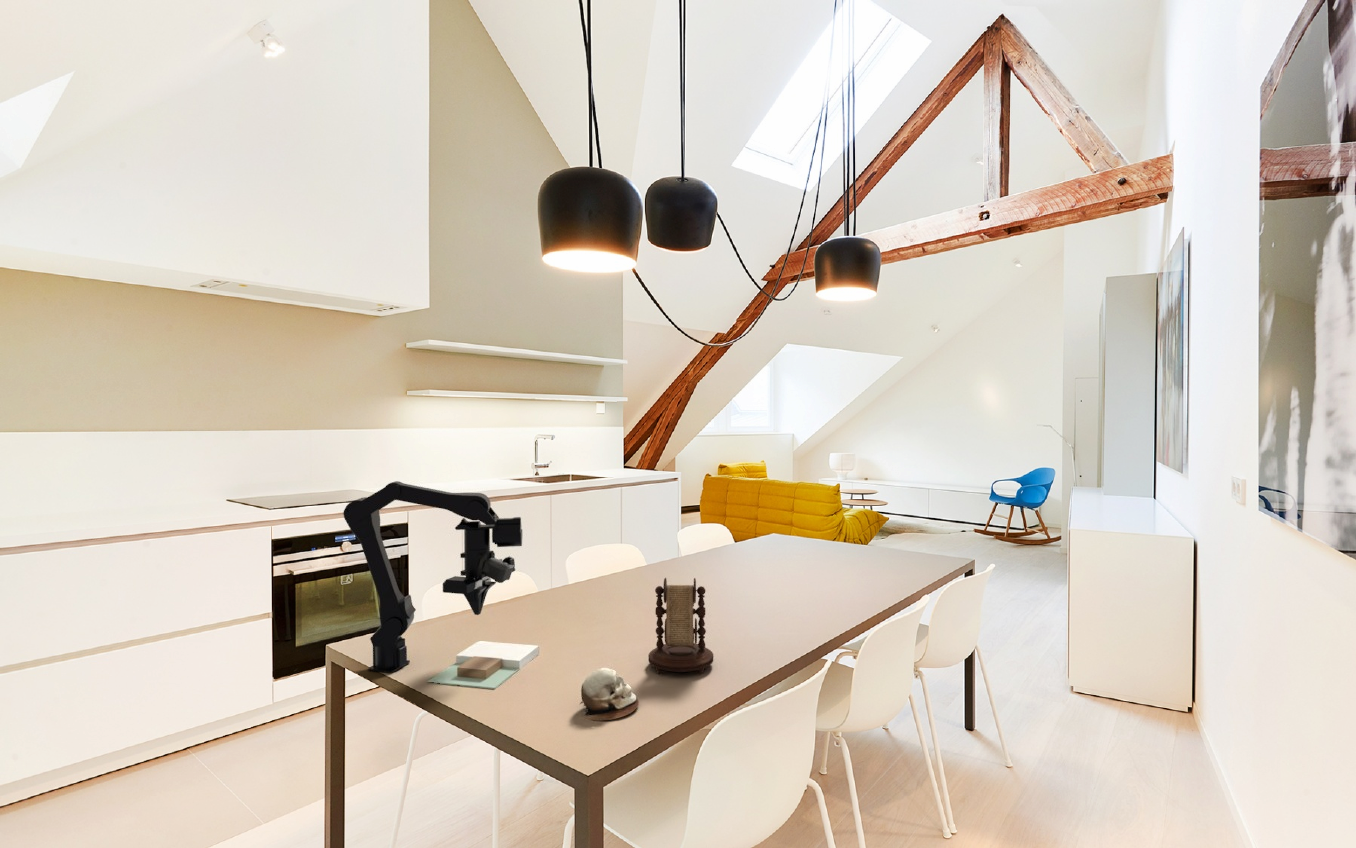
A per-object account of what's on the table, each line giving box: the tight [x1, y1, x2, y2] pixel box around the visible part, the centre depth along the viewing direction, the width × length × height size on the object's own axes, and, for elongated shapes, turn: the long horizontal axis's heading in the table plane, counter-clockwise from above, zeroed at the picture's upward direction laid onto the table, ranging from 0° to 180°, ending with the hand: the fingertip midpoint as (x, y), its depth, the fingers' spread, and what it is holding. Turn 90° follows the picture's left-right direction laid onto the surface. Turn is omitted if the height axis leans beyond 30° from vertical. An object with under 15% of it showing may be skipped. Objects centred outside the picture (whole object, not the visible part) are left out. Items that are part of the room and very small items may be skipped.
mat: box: [427, 662, 520, 690], centre depth 145 cm, size 16×11×1 cm
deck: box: [455, 640, 540, 671], centre depth 156 cm, size 16×10×2 cm, turn 76°
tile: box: [457, 656, 502, 679], centre depth 147 cm, size 7×7×2 cm
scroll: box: [648, 577, 714, 675], centre depth 150 cm, size 15×15×20 cm
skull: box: [579, 667, 640, 722], centre depth 129 cm, size 12×10×10 cm
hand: (477, 614), depth 154 cm, fingers closed
